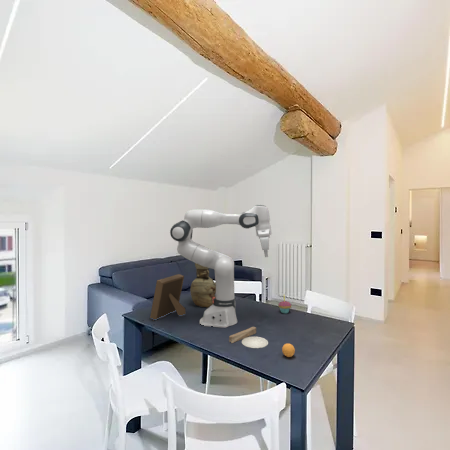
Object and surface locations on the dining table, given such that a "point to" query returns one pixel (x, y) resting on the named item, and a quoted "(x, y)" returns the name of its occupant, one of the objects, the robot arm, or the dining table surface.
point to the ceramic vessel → (203, 287)
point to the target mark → (254, 342)
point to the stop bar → (242, 334)
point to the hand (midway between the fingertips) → (266, 255)
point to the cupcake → (284, 306)
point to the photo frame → (167, 296)
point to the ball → (288, 350)
